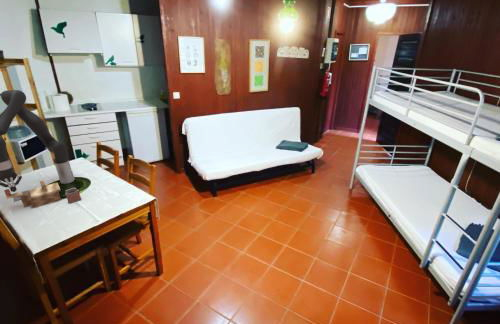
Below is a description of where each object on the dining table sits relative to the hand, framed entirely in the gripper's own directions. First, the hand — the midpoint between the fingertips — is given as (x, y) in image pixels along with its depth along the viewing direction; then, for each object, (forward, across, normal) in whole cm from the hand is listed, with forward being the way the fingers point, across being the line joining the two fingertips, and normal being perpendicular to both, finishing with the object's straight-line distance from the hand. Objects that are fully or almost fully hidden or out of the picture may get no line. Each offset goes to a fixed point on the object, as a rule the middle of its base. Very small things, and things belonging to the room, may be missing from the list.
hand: (14, 191), depth 167 cm
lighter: (+13, -29, +13) cm, 34 cm away
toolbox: (+12, -12, 0) cm, 17 cm away
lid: (+6, -15, 0) cm, 16 cm away
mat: (+12, -6, -17) cm, 22 cm away
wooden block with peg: (+4, +1, 0) cm, 4 cm away
